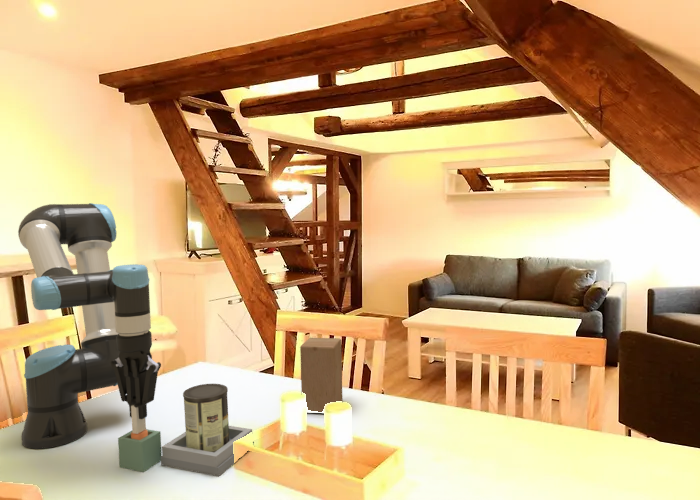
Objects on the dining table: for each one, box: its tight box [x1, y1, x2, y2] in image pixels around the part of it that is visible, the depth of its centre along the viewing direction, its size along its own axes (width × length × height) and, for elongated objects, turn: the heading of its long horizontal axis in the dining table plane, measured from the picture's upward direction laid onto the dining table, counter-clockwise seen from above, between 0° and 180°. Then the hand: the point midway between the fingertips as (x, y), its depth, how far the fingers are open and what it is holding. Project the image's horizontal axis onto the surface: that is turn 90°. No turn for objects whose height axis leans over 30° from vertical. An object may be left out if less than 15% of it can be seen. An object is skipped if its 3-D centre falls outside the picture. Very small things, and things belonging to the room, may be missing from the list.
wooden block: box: [299, 337, 343, 412], centre depth 153 cm, size 10×10×20 cm
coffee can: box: [182, 383, 230, 452], centre depth 125 cm, size 10×10×14 cm
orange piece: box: [131, 430, 148, 440], centre depth 122 cm, size 4×4×5 cm
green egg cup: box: [117, 428, 162, 473], centre depth 122 cm, size 7×6×7 cm
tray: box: [160, 425, 253, 477], centre depth 125 cm, size 16×15×4 cm
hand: (139, 431), depth 122 cm, fingers closed
